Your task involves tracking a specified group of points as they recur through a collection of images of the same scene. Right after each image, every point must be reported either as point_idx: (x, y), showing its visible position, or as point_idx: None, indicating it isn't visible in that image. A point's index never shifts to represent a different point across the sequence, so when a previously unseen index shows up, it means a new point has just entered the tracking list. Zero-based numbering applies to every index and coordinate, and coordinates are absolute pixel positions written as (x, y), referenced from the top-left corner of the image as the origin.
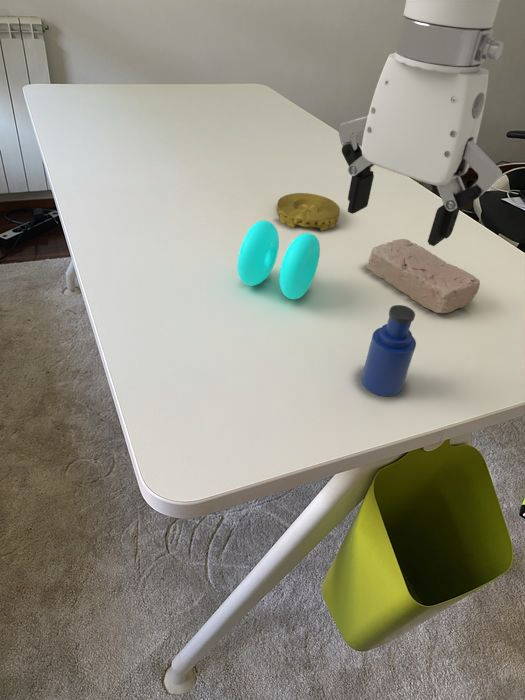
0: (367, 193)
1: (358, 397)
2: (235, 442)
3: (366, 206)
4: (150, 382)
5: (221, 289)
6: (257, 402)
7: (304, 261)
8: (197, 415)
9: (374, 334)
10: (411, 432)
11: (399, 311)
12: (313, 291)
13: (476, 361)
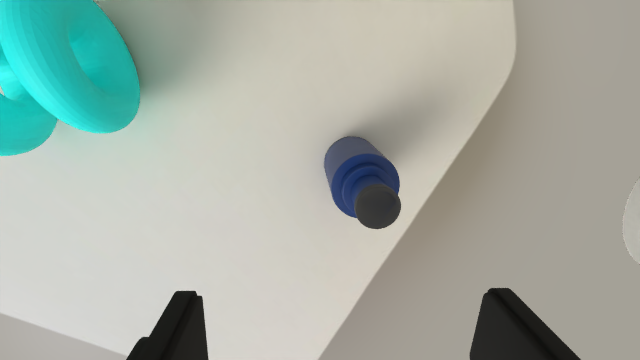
0: (183, 353)
1: None
2: (281, 334)
3: (201, 296)
4: None
5: None
6: (259, 286)
7: (97, 102)
8: (229, 335)
9: (335, 199)
10: (415, 212)
11: (373, 211)
12: (132, 27)
13: (446, 12)
